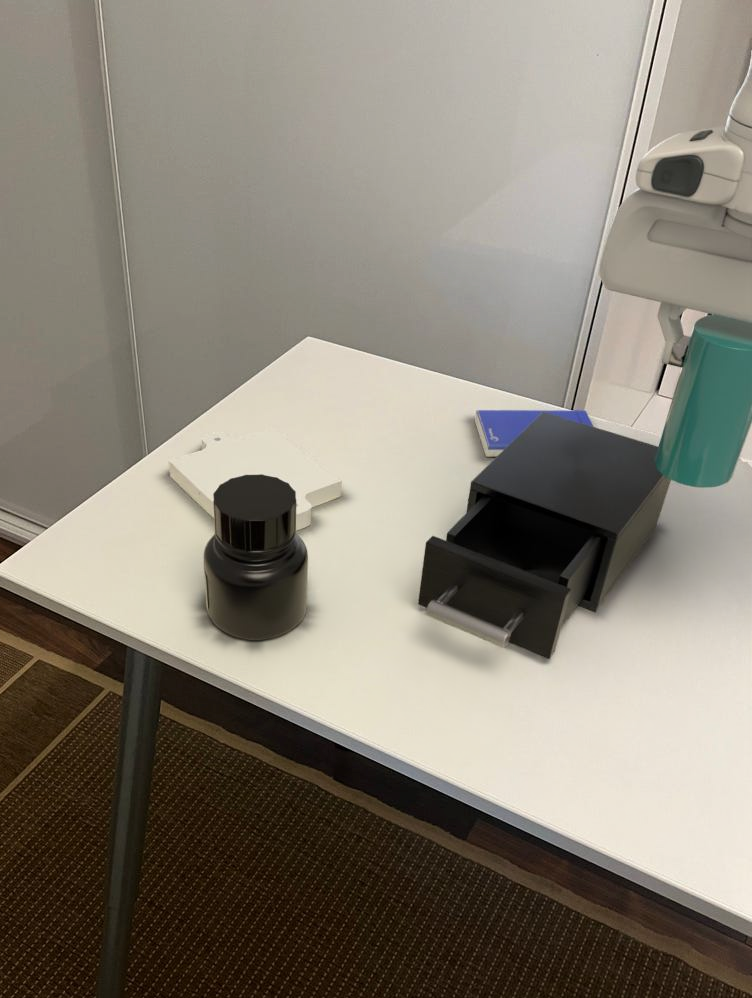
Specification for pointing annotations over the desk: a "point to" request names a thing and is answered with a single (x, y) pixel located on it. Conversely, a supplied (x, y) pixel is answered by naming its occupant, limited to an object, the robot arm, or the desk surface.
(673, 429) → the teal cylinder
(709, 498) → the desk surface
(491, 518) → the drawer
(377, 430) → the desk surface
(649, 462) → the cabinet
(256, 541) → the ink bottle
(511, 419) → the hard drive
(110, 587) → the desk surface
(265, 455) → the mounting plate
